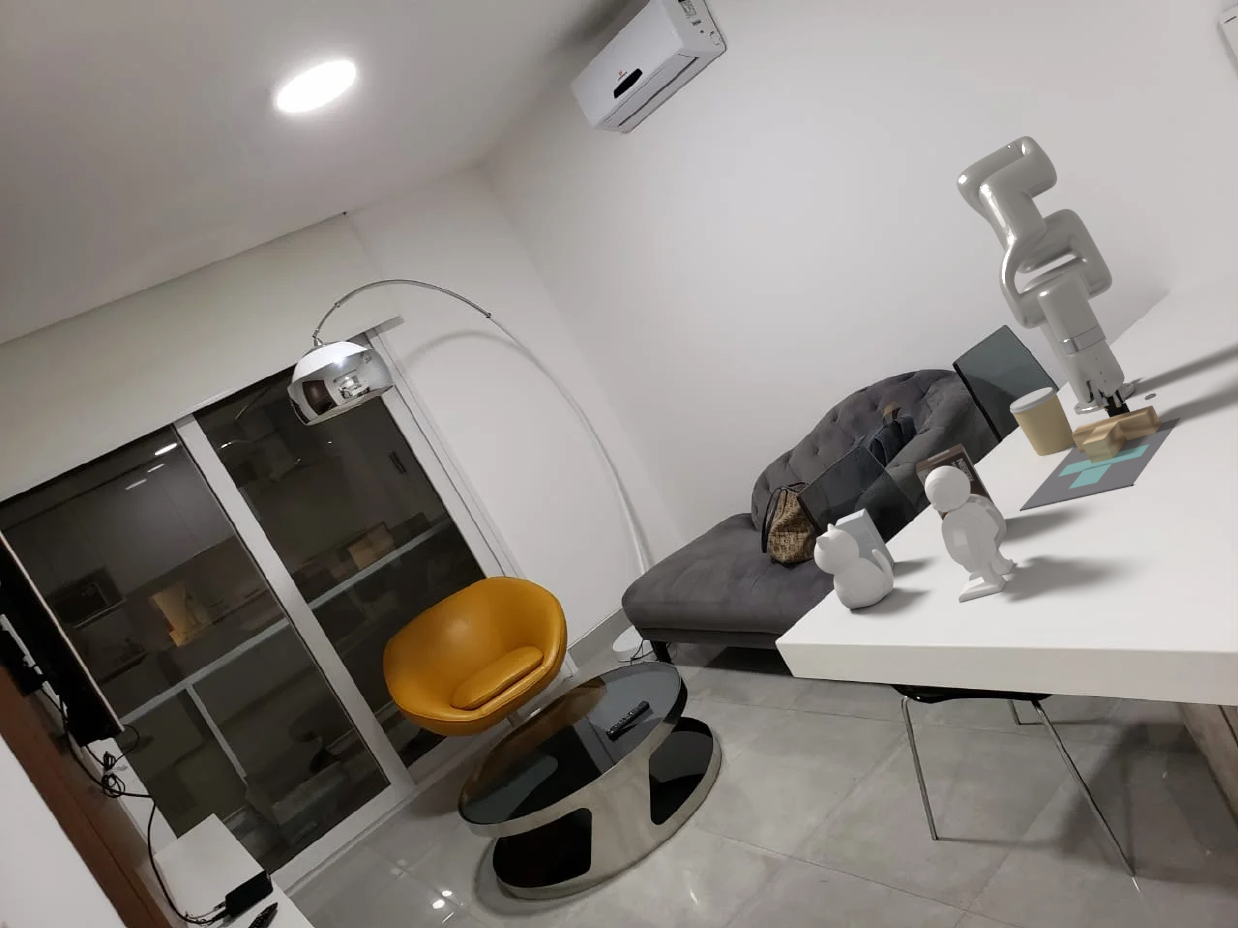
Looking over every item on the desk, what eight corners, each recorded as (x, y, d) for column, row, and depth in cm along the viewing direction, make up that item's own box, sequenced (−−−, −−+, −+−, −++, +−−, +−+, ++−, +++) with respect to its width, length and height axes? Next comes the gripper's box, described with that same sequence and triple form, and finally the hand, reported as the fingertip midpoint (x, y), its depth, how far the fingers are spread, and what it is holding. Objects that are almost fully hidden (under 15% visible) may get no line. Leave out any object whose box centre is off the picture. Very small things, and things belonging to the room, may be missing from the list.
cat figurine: (850, 596, 165) (813, 526, 164) (911, 579, 157) (872, 506, 156) (834, 620, 158) (795, 547, 157) (897, 603, 150) (856, 526, 149)
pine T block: (1087, 444, 175) (1078, 426, 174) (1161, 424, 164) (1152, 405, 163) (1065, 470, 167) (1056, 451, 167) (1141, 450, 156) (1131, 431, 156)
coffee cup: (1069, 435, 187) (1043, 385, 187) (1088, 439, 178) (1061, 387, 177) (1027, 456, 189) (1002, 406, 188) (1044, 461, 180) (1017, 409, 179)
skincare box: (895, 561, 170) (866, 507, 169) (892, 570, 166) (863, 514, 165) (866, 572, 173) (837, 519, 172) (863, 581, 169) (833, 526, 168)
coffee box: (1003, 518, 162) (962, 441, 160) (1006, 529, 156) (964, 449, 154) (954, 538, 165) (914, 463, 164) (956, 550, 159) (915, 471, 158)
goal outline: (1068, 466, 169) (1067, 465, 169) (1150, 445, 158) (1149, 444, 157) (1042, 496, 162) (1041, 495, 162) (1127, 477, 150) (1126, 475, 150)
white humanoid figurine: (977, 567, 147) (922, 461, 145) (1031, 553, 141) (973, 443, 139) (956, 607, 136) (896, 494, 135) (1012, 594, 130) (950, 476, 129)
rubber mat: (1075, 447, 178) (1074, 446, 178) (1181, 419, 162) (1180, 417, 162) (1020, 510, 161) (1019, 509, 161) (1133, 485, 145) (1132, 484, 145)
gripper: (1077, 335, 177) (1118, 415, 178) (1049, 361, 168) (1092, 445, 169) (1115, 320, 171) (1157, 404, 172) (1088, 346, 162) (1133, 434, 163)
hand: (1125, 424), depth 170 cm, fingers closed
